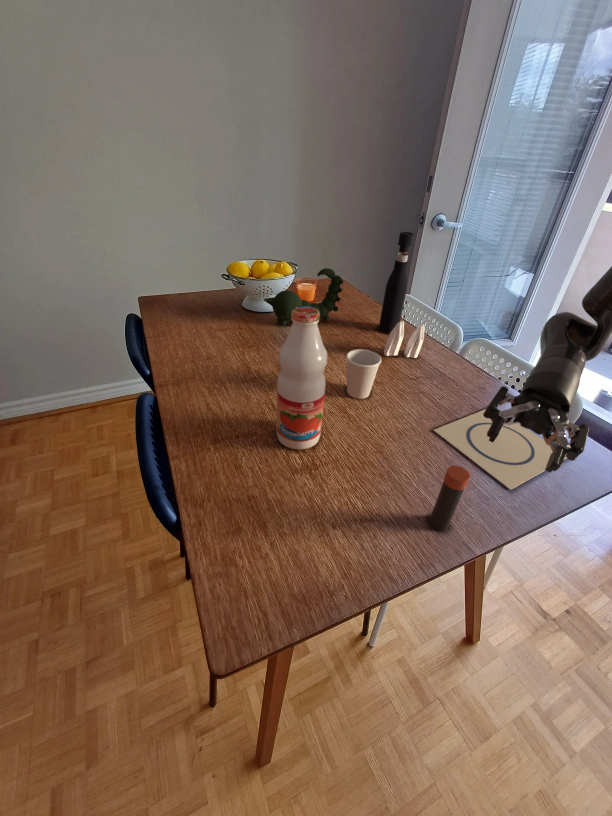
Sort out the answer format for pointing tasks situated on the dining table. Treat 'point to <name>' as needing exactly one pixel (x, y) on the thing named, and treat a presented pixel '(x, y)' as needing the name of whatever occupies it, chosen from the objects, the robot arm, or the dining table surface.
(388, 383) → the dining table surface
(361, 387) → the dixie cup
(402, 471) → the dining table surface
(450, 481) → the marker
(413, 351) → the shaker set
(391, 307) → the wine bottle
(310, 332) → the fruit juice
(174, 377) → the dining table surface
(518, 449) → the paper
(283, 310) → the toy figurine
